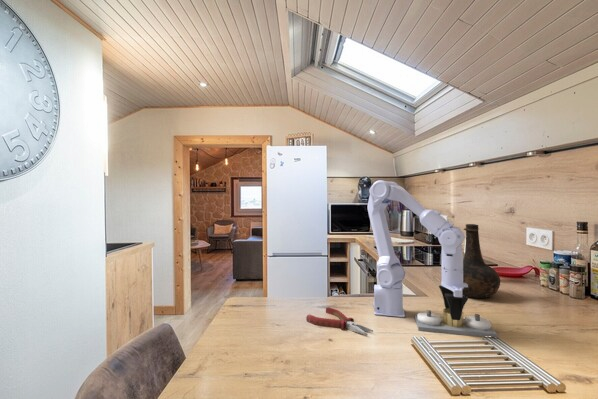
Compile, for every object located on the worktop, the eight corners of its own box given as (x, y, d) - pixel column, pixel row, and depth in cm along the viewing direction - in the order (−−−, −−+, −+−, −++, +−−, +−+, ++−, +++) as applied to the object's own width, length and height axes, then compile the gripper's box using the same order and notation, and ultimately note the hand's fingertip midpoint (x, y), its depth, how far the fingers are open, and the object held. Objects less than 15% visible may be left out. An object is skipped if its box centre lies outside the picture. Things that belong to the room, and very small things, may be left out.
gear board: (418, 330, 86) (418, 314, 86) (414, 317, 96) (414, 303, 96) (497, 338, 81) (497, 321, 81) (485, 323, 91) (485, 308, 91)
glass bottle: (496, 291, 124) (495, 223, 124) (504, 305, 108) (503, 226, 108) (448, 286, 131) (447, 222, 132) (448, 298, 115) (448, 225, 116)
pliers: (358, 344, 79) (358, 334, 80) (304, 322, 94) (304, 314, 94) (381, 331, 87) (381, 322, 87) (328, 313, 102) (328, 305, 102)
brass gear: (444, 326, 87) (444, 313, 87) (441, 319, 92) (441, 307, 92) (465, 328, 85) (465, 315, 85) (460, 321, 91) (460, 308, 91)
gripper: (474, 274, 81) (475, 325, 81) (460, 264, 95) (461, 307, 95) (445, 273, 83) (446, 323, 82) (436, 263, 97) (436, 305, 96)
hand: (452, 314), depth 89 cm, fingers open, 7 cm apart
